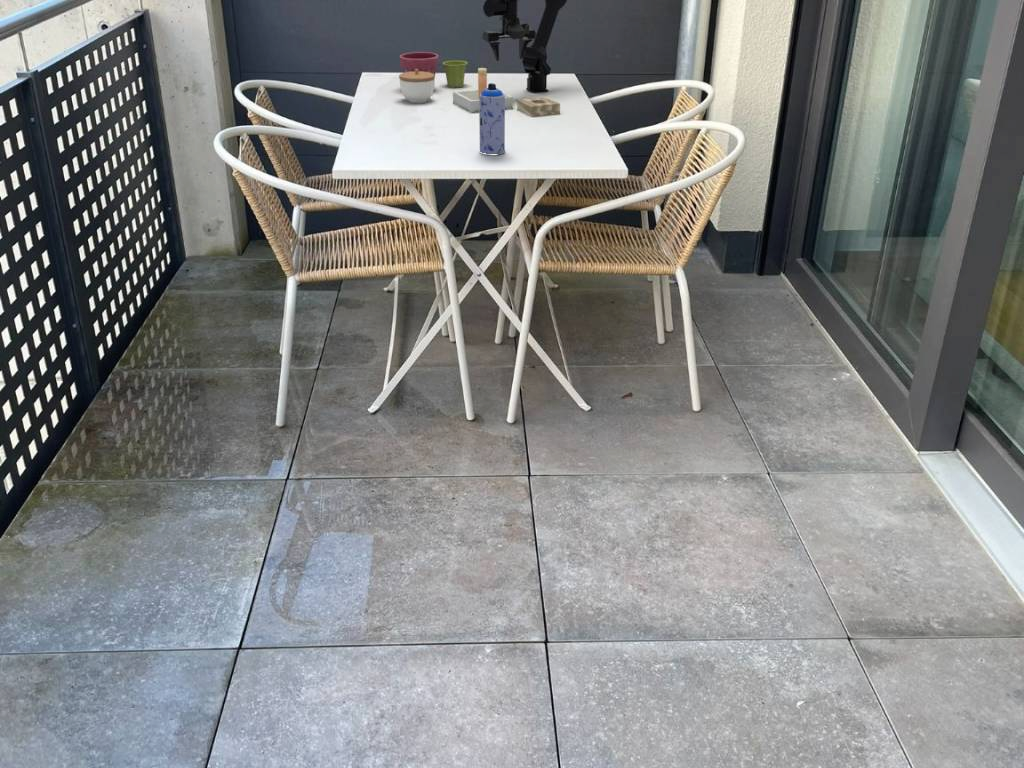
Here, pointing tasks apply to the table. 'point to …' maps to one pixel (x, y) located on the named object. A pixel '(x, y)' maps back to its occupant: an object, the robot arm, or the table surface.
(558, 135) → the table surface
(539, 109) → the hitch block
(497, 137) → the aerosol can
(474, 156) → the table surface
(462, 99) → the tray
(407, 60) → the plant pot
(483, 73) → the pin
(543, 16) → the robot arm
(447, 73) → the plant pot
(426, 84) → the lidded bowl
